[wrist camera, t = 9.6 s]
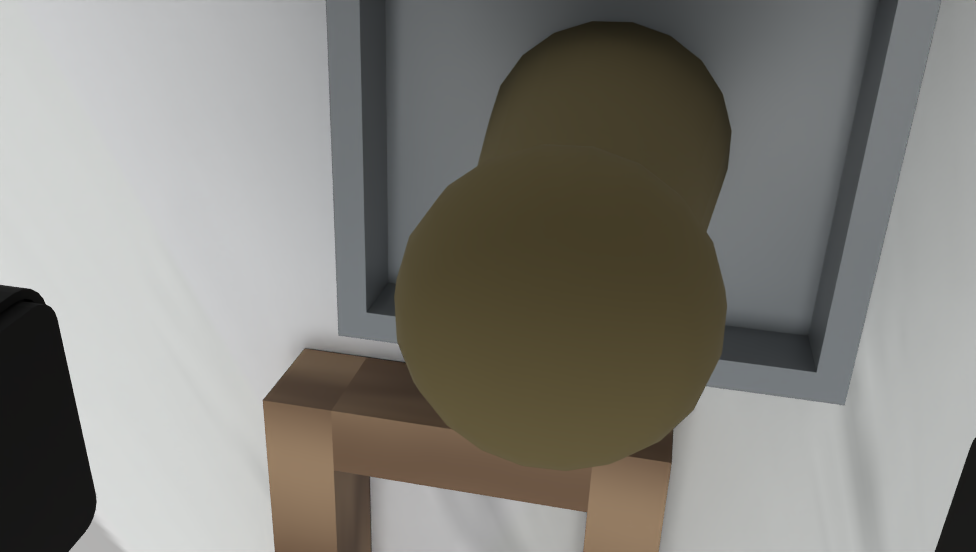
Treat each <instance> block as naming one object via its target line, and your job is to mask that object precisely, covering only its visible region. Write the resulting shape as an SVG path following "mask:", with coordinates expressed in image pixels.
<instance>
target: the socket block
mask: <svg viewBox="0 0 976 552" xmlns="http://www.w3.org/2000/svg"><path fill="white" fill-rule="evenodd" d="M263 409H264V421H265V434H266V446H267V459H268V471H269V483H270V496H271V508H272V521H273V533H274V546H275V552H371V519H370V476H371V477H377V478H383V479H389V480H395V481H401V482H407V483H413V484H419V485H425V486H431V487H437V488H443V489H450V490H456V491H462V492H468V493H474V494H480V495H486V496H492V497H498V498H504V499H510V500H516V501H522V502H528V503H534V504H540V505H546V506H552V507H559V508H565V509H571V510H577V511H583V512H587V521H586V530H585V540H584V550H583V552H658V551H659V544H660V538H661V531H662V524H663V518H664V511H665V504H666V497H667V491H668V484H669V477H670V470H671V464H672V444H673V430H672V431H671V432H669V433H668V434H667V435H666V436H665V437H664V438H663V439H662V440H661V441H659V442H657V443H655V444H653V445H651V446H649V447H647V448H644V449H642V450H640V451H638V452H636V453H634V454H632V455H629V456H627V457H625V458H623V459H621V460H619V461H616V462H614V463H611V464H609V465H603V466H596V467H589V468H583V469H576V470H570V471H561V470H552V469H544V468H535V467H526V466H521V465H518V464H516V463H513V462H511V461H508V460H505V459H503V458H500V457H498V456H495V455H492V454H490V453H487V452H485V451H482V450H480V449H479V448H478V447H476V446H475V445H474V444H472V443H471V442H469V441H468V440H467V439H465V438H464V437H462V436H461V435H460V434H458V433H457V432H455V431H454V430H453V429H451V428H450V427H449V426H447V425H446V424H445V422H444V421H443V420H442V419H441V417H440V416H439V415H438V414H437V412H436V411H435V410H434V409H433V407H432V406H431V405H430V404H429V402H428V401H427V400H426V399H425V397H424V396H423V395H422V394H421V393H420V391H419V390H418V388H417V387H416V385H415V384H414V382H413V380H412V377H411V375H410V372H409V370H408V367H407V365H406V363H403V362H396V361H389V360H382V359H375V358H367V357H360V356H353V355H346V354H339V353H332V352H325V351H318V350H311V349H304V350H303V351H302V352H301V354H300V355H299V356H298V357H297V359H296V360H295V361H294V362H293V364H292V365H291V366H290V367H289V368H288V370H287V371H286V372H285V373H284V375H283V376H282V377H281V378H280V380H279V381H278V382H277V383H276V385H275V386H274V387H273V388H272V390H271V391H270V392H269V393H268V395H267V396H266V397H265V398H264V399H263Z"/></svg>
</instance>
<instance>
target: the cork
mask: <svg viewBox="0 0 976 552" xmlns="http://www.w3.org/2000/svg"><path fill="white" fill-rule="evenodd" d="M731 134H732V130H731V126H730V122H729V117H728V113H727V109H726V105H725V100H724V96H723V93H722V92H721V90H720V88H719V87H718V85H717V84H716V82H715V81H714V79H713V77H712V76H711V74H710V73H709V71H708V70H707V68H706V66H705V65H704V63H703V62H702V60H700V59H699V58H698V57H697V56H695V55H694V54H693V53H692V52H690V51H689V50H688V49H687V48H685V47H684V46H683V45H681V44H680V43H679V42H678V41H676V40H675V39H674V38H673V37H671V36H670V35H667V34H664V33H661V32H659V31H656V30H653V29H650V28H647V27H645V26H642V25H639V24H636V23H634V22H605V21H591V22H588V23H585V24H581V25H578V26H575V27H572V28H568V29H565V30H562V31H559V32H555V33H553V34H552V35H550V36H549V37H548V38H546V39H545V40H543V41H542V42H541V43H539V44H538V45H536V46H535V47H534V48H532V49H531V50H529V51H528V52H526V53H525V54H524V55H522V57H521V58H520V59H519V61H518V62H517V64H516V65H515V66H514V68H513V69H512V70H511V72H510V73H509V74H508V76H507V77H506V79H505V80H504V81H503V83H502V84H501V85H500V88H499V91H498V94H497V97H496V101H495V104H494V107H493V110H492V113H491V116H490V119H489V123H488V127H487V131H486V135H485V138H484V142H483V146H482V150H481V154H480V158H479V162H478V165H477V167H475V168H474V169H472V170H471V171H469V172H468V173H466V174H465V175H463V176H462V177H460V178H459V179H457V180H456V181H454V182H453V183H451V184H450V185H448V186H447V187H446V188H445V190H444V191H443V192H442V193H441V195H440V196H439V197H438V198H437V200H436V201H435V202H434V204H433V205H432V206H431V208H430V209H429V210H428V212H427V213H426V214H425V216H424V217H423V219H422V220H421V221H420V223H419V224H418V225H417V227H416V228H415V229H414V231H413V232H412V233H411V235H410V236H409V239H408V242H407V246H406V249H405V252H404V256H403V259H402V263H401V266H400V269H399V273H398V276H397V280H396V287H395V295H394V300H395V317H396V334H397V342H398V345H399V347H400V350H401V352H402V355H403V357H404V360H405V362H406V365H407V367H408V370H409V372H410V375H411V377H412V380H413V382H414V384H415V385H416V387H417V388H418V390H419V391H420V393H421V394H422V395H423V396H424V397H425V399H426V400H427V401H428V402H429V404H430V405H431V406H432V407H433V409H434V410H435V411H436V412H437V414H438V415H439V416H440V417H441V419H442V420H443V421H444V422H445V424H446V425H447V426H449V427H450V428H451V429H453V430H454V431H455V432H457V433H458V434H460V435H461V436H462V437H464V438H465V439H467V440H468V441H469V442H471V443H472V444H474V445H475V446H476V447H478V448H479V449H480V450H482V451H485V452H487V453H490V454H492V455H495V456H498V457H500V458H503V459H505V460H508V461H511V462H513V463H516V464H518V465H521V466H526V467H535V468H544V469H552V470H561V471H570V470H576V469H583V468H589V467H596V466H603V465H609V464H611V463H614V462H616V461H619V460H621V459H623V458H625V457H627V456H629V455H632V454H634V453H636V452H638V451H640V450H642V449H644V448H647V447H649V446H651V445H653V444H655V443H657V442H659V441H661V440H662V439H663V438H664V437H665V436H666V435H667V434H668V433H669V432H671V431H672V430H673V429H674V428H675V427H676V426H677V425H678V424H679V423H680V422H681V421H682V420H683V419H684V418H685V417H687V416H688V415H689V414H690V413H691V412H692V411H693V410H694V408H695V406H696V404H697V402H698V400H699V398H700V396H701V394H702V392H703V390H704V388H705V386H706V384H707V383H708V381H709V379H710V377H711V375H712V373H713V371H714V369H715V367H716V365H717V363H718V361H719V359H720V357H721V354H722V349H723V340H724V331H725V322H726V313H727V300H726V291H725V286H724V282H723V278H722V274H721V270H720V266H719V263H718V259H717V255H716V251H715V247H714V243H713V241H712V239H711V238H710V236H709V235H708V234H707V229H708V226H709V223H710V220H711V217H712V214H713V211H714V208H715V205H716V203H717V200H718V197H719V194H720V191H721V188H722V185H723V182H724V179H725V176H726V173H727V170H728V163H729V153H730V143H731Z"/></svg>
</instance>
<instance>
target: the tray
mask: <svg viewBox="0 0 976 552" xmlns="http://www.w3.org/2000/svg"><path fill="white" fill-rule="evenodd" d="M940 4H941V0H326V15H327V41H328V68H329V95H330V121H331V148H332V174H333V201H334V228H335V254H336V281H337V307H338V334H339V336H346V337H354V338H361V339H368V340H375V341H383V342H390V343H397V344H398V342H397V334H396V317H395V300H394V295H395V287H396V280H397V276H398V273H399V269H400V266H401V263H402V259H403V256H404V252H405V249H406V246H407V242H408V239H409V236H410V235H411V233H412V232H413V231H414V229H415V228H416V227H417V225H418V224H419V223H420V221H421V220H422V219H423V217H424V216H425V214H426V213H427V212H428V210H429V209H430V208H431V206H432V205H433V204H434V202H435V201H436V200H437V198H438V197H439V196H440V195H441V193H442V192H443V191H444V190H445V188H446V187H447V186H448V185H450V184H451V183H453V182H454V181H456V180H457V179H459V178H460V177H462V176H463V175H465V174H466V173H468V172H469V171H471V170H472V169H474V168H475V167H477V165H478V162H479V158H480V154H481V150H482V146H483V142H484V138H485V135H486V131H487V127H488V123H489V119H490V116H491V113H492V110H493V107H494V104H495V101H496V97H497V94H498V91H499V88H500V85H501V84H502V83H503V81H504V80H505V79H506V77H507V76H508V74H509V73H510V72H511V70H512V69H513V68H514V66H515V65H516V64H517V62H518V61H519V59H520V58H521V57H522V55H524V54H525V53H526V52H528V51H529V50H531V49H532V48H534V47H535V46H536V45H538V44H539V43H541V42H542V41H543V40H545V39H546V38H548V37H549V36H550V35H552V34H553V33H555V32H559V31H562V30H565V29H568V28H572V27H575V26H578V25H581V24H585V23H588V22H591V21H605V22H634V23H636V24H639V25H642V26H645V27H647V28H650V29H653V30H656V31H659V32H661V33H664V34H667V35H670V36H671V37H673V38H674V39H675V40H676V41H678V42H679V43H680V44H681V45H683V46H684V47H685V48H687V49H688V50H689V51H690V52H692V53H693V54H694V55H695V56H697V57H698V58H699V59H700V60H702V62H703V63H704V65H705V66H706V68H707V70H708V71H709V73H710V74H711V76H712V77H713V79H714V81H715V82H716V84H717V85H718V87H719V88H720V90H721V92H722V93H723V96H724V100H725V105H726V109H727V113H728V117H729V122H730V126H731V130H732V134H731V143H730V153H729V163H728V170H727V173H726V176H725V179H724V182H723V185H722V188H721V191H720V194H719V197H718V200H717V203H716V205H715V208H714V211H713V214H712V217H711V220H710V223H709V226H708V229H707V234H708V235H709V236H710V238H711V239H712V241H713V243H714V247H715V251H716V255H717V259H718V263H719V266H720V270H721V274H722V278H723V282H724V286H725V291H726V300H727V313H726V322H725V331H724V340H723V349H722V354H721V357H720V359H719V361H718V363H717V365H716V367H715V369H714V371H713V373H712V375H711V377H710V379H709V381H708V383H707V384H706V386H709V387H716V388H723V389H730V390H737V391H745V392H752V393H759V394H766V395H774V396H781V397H788V398H795V399H803V400H810V401H817V402H824V403H832V404H839V405H845V401H846V397H847V393H848V389H849V384H850V380H851V376H852V372H853V368H854V364H855V359H856V355H857V351H858V347H859V343H860V338H861V334H862V330H863V326H864V322H865V318H866V313H867V309H868V305H869V301H870V297H871V292H872V288H873V284H874V280H875V276H876V272H877V267H878V263H879V259H880V255H881V251H882V246H883V242H884V238H885V234H886V230H887V226H888V221H889V217H890V213H891V209H892V205H893V200H894V196H895V192H896V188H897V184H898V180H899V175H900V171H901V167H902V163H903V159H904V154H905V150H906V146H907V142H908V138H909V134H910V129H911V125H912V121H913V117H914V113H915V108H916V104H917V100H918V96H919V92H920V88H921V83H922V79H923V75H924V71H925V67H926V62H927V58H928V54H929V50H930V46H931V42H932V37H933V33H934V29H935V25H936V21H937V16H938V12H939V8H940Z"/></svg>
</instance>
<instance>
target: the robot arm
mask: <svg viewBox="0 0 976 552" xmlns="http://www.w3.org/2000/svg"><path fill="white" fill-rule="evenodd" d="M95 510H96V493H95V488H94V484H93V479H92V475H91V470H90V466H89V461H88V456H87V452H86V447H85V443H84V438H83V434H82V429H81V425H80V420H79V415H78V411H77V406H76V402H75V397H74V393H73V388H72V384H71V379H70V374H69V370H68V365H67V361H66V356H65V352H64V347H63V343H62V338H61V333H60V329H59V324H58V320H57V317H56V314H55V312H54V310H53V309H52V308H51V307H50V306H48V305H46V304H45V302H44V299H43V298H42V297H41V296H40V294H39V293H38V292H36V291H34V290H32V289H27V288H19V287H12V286H5V285H0V552H69V550H70V549H71V548H72V547H73V546H74V545H75V543H76V542H77V541H78V540H79V539H80V537H81V536H82V535H83V534H84V533H85V532H86V530H87V529H88V527H89V525H90V524H91V521H92V519H93V517H94V513H95ZM935 552H976V438H975V439H974V440H973V442H972V445H971V447H970V450H969V453H968V456H967V459H966V461H965V464H964V467H963V470H962V473H961V476H960V479H959V482H958V485H957V488H956V491H955V494H954V497H953V500H952V503H951V506H950V509H949V512H948V515H947V517H946V520H945V523H944V526H943V529H942V532H941V535H940V538H939V541H938V544H937V547H936V550H935Z"/></svg>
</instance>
